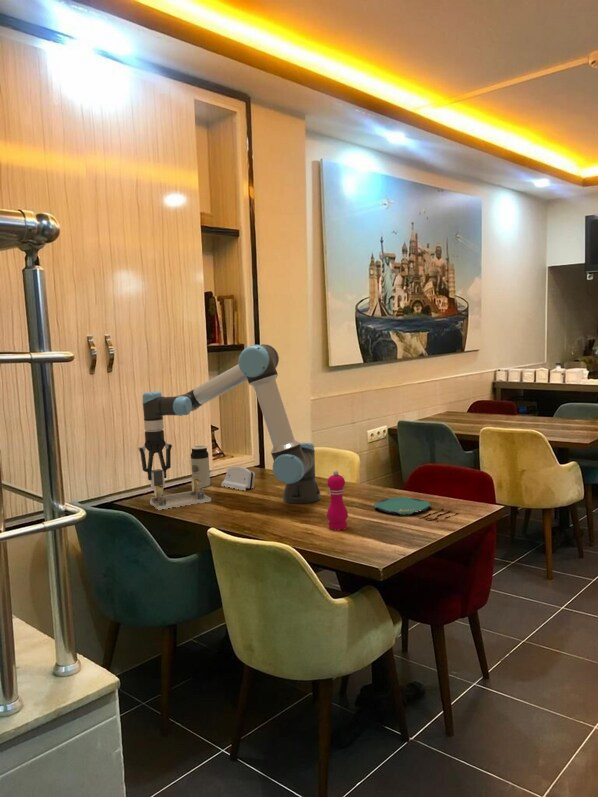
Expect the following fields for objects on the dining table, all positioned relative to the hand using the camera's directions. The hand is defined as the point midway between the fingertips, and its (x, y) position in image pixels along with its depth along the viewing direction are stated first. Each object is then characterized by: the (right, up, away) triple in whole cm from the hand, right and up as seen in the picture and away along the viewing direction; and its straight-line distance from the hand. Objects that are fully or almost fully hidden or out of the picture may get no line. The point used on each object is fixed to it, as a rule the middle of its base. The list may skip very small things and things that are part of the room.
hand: (157, 487), depth 260 cm
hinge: (+31, -4, +25) cm, 40 cm away
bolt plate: (+9, -7, +1) cm, 11 cm away
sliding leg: (+1, -4, -2) cm, 5 cm away
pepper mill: (+71, -9, -41) cm, 82 cm away
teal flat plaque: (+100, -6, -25) cm, 103 cm away
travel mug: (+13, -4, +29) cm, 33 cm away
